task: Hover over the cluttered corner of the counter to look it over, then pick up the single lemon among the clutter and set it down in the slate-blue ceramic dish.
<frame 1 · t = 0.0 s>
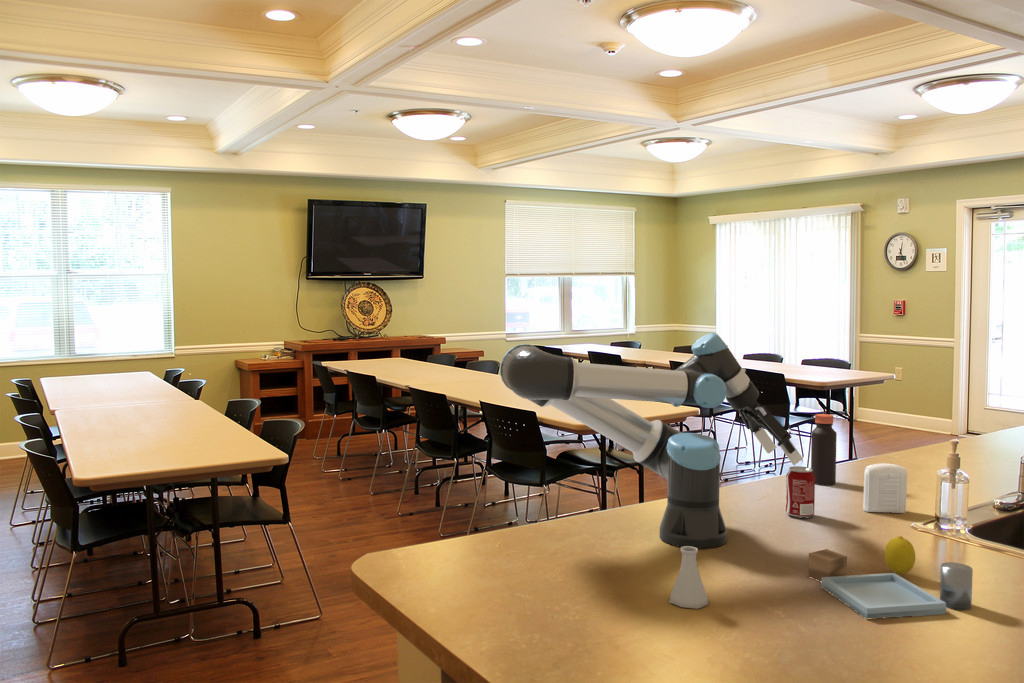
hand: (784, 455, 199), 15 cm above the table, tool tilted 35°, fingers open, 13 cm apart
grey tin: (955, 604, 144), on the table
soda can: (799, 516, 200), on the table
flask: (688, 602, 147), on the table
bottle: (823, 483, 233), on the table
dish: (880, 600, 146), on the table
lemon: (899, 576, 159), on the table
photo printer: (884, 512, 204), on the table
walnut block: (827, 579, 157), on the table
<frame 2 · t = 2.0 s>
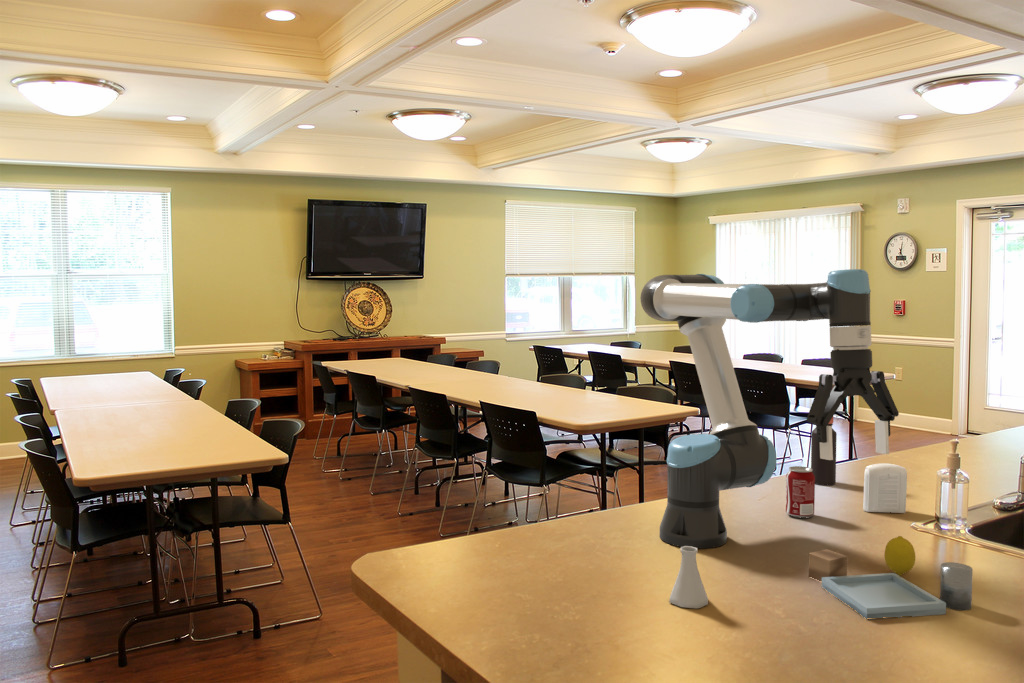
hand: (854, 456, 156), 24 cm above the table, tool pointing down, fingers open, 13 cm apart
nothing on the table moved.
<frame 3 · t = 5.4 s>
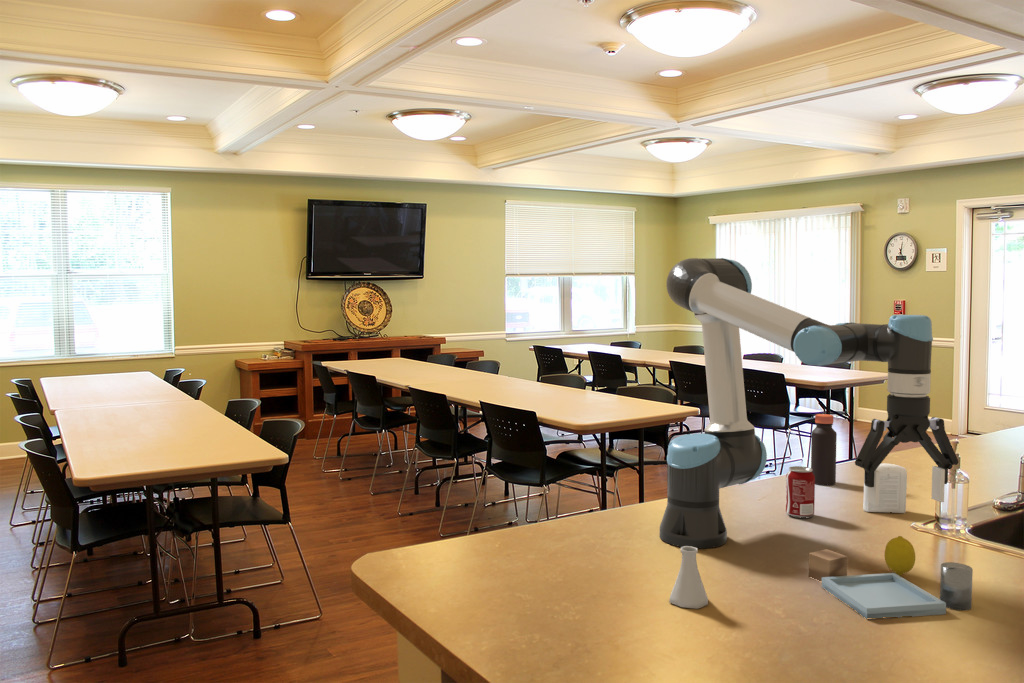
hand: (905, 501, 156), 15 cm above the table, tool pointing down, fingers open, 13 cm apart
nothing on the table moved.
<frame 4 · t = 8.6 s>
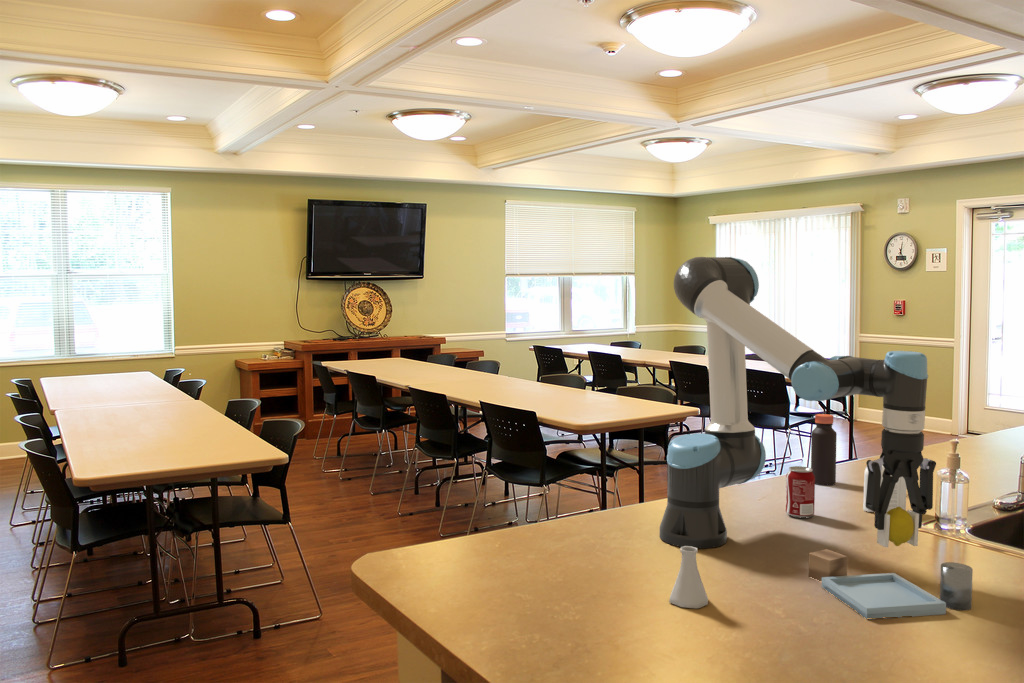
hand: (897, 544, 159), 6 cm above the table, tool pointing down, fingers closed on lemon, 5 cm apart
lemon: (897, 546, 159), point 6 cm above the table, touching gripper
everything else where it was.
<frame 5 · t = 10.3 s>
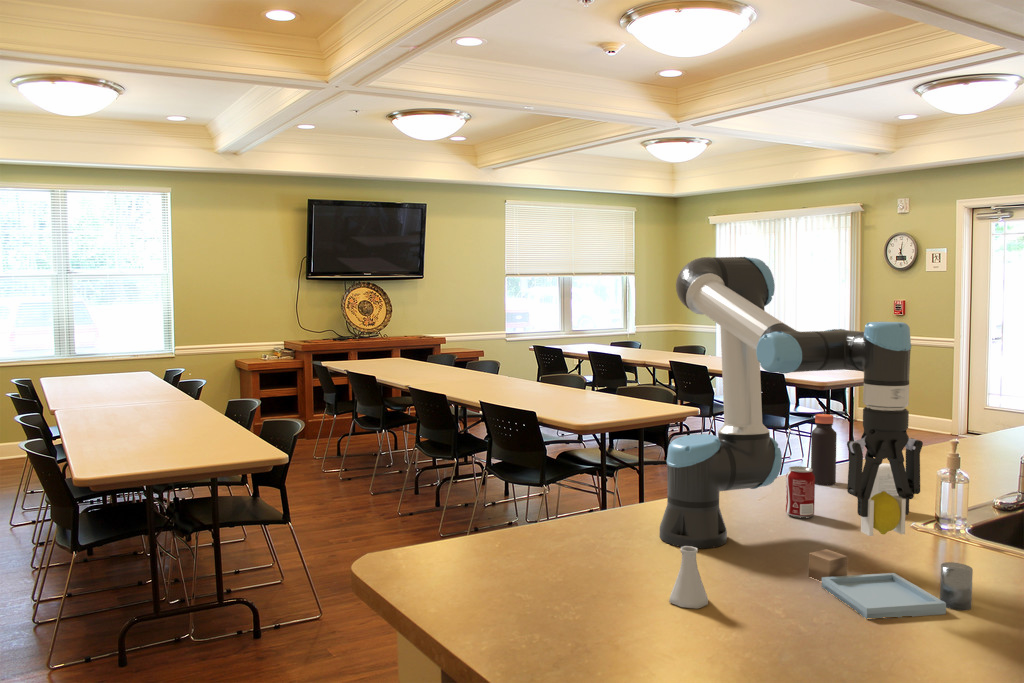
hand: (882, 532, 146), 13 cm above the table, tool pointing down, fingers closed on lemon, 5 cm apart
lemon: (882, 535, 146), point 12 cm above the table, touching gripper
everything else where it was.
when the fingers open (2 cm above the table, at t = 12.5 s): lemon stays where it is, resting on dish.
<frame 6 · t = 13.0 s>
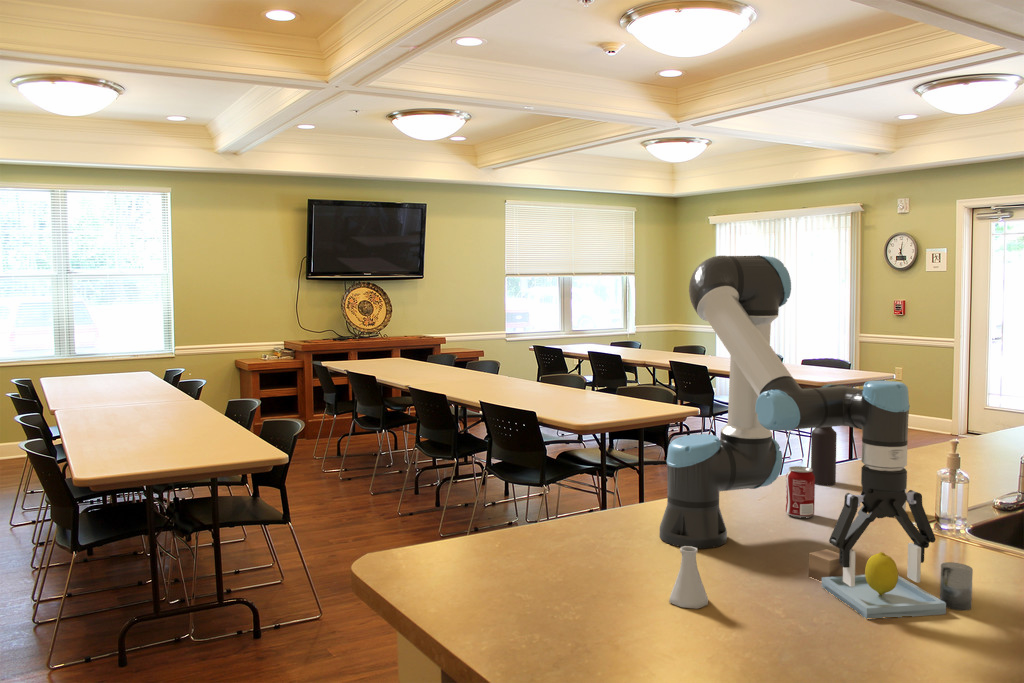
hand: (881, 582, 146), 3 cm above the table, tool pointing down, fingers open, 12 cm apart
lemon: (880, 595, 146), point 1 cm above the table, touching dish
everything else where it was.
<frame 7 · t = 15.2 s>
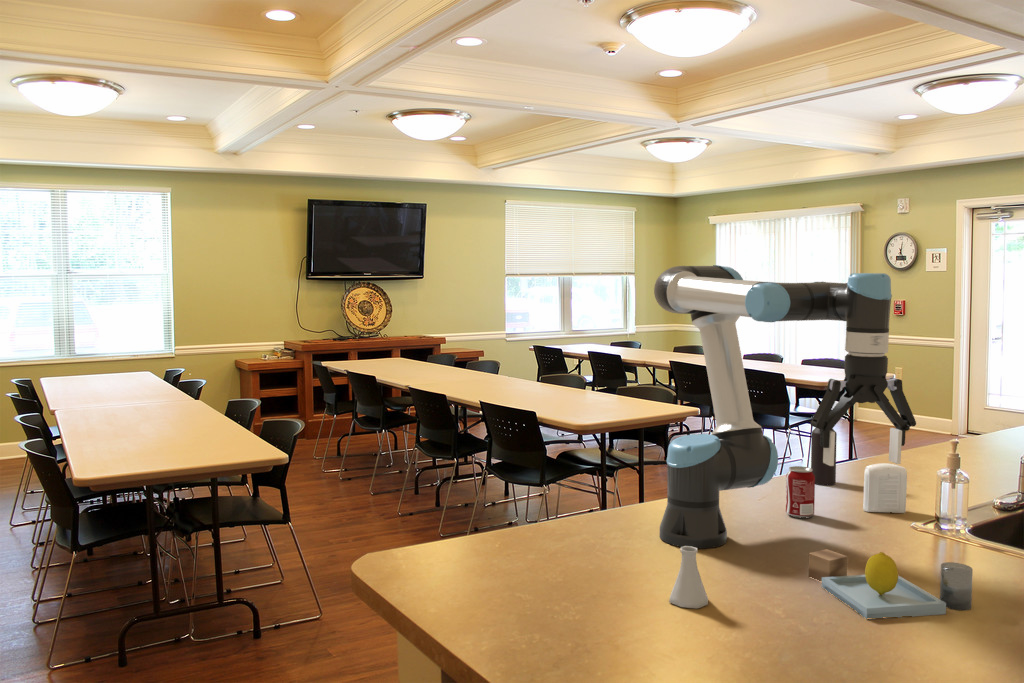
hand: (861, 463, 154), 23 cm above the table, tool pointing down, fingers open, 13 cm apart
nothing on the table moved.
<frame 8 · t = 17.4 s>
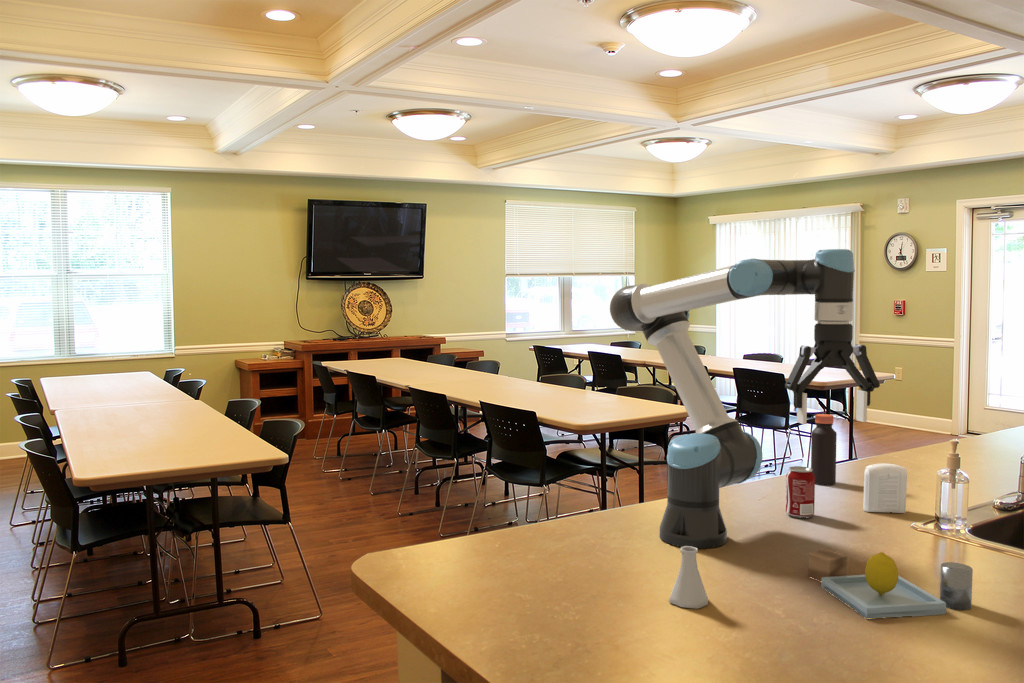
hand: (831, 422, 170), 29 cm above the table, tool pointing down, fingers open, 13 cm apart
nothing on the table moved.
at the end: lemon inside the target area on the dish (0.0 cm from its centre), point 0.8 cm above the dish's base; the gripper is holding nothing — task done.
